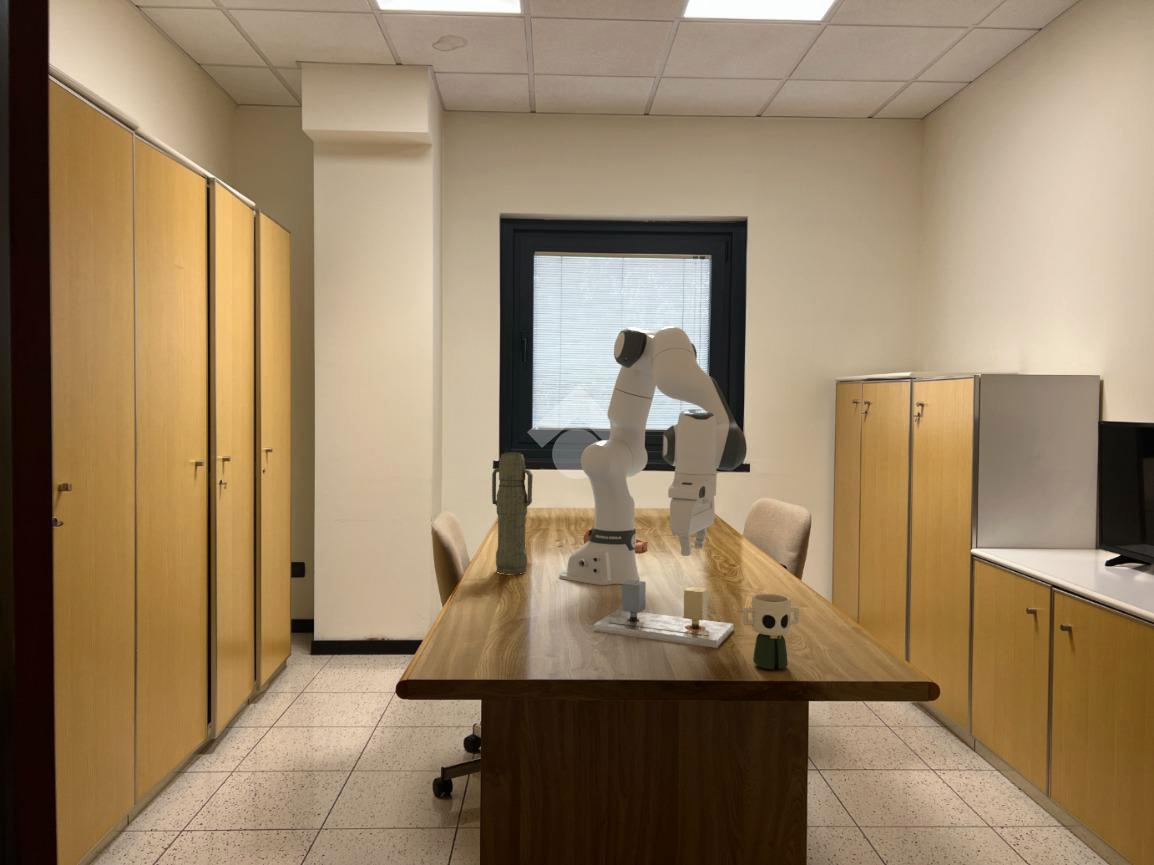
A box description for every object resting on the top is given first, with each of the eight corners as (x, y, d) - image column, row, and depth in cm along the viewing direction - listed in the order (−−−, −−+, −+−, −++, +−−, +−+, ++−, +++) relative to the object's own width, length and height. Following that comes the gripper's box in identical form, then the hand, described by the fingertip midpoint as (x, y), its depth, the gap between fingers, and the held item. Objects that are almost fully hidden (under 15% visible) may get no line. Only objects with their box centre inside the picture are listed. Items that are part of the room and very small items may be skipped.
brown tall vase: (528, 577, 224) (529, 454, 223) (488, 576, 226) (488, 453, 225) (534, 571, 233) (535, 452, 232) (495, 569, 235) (496, 451, 234)
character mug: (748, 674, 144) (749, 603, 144) (735, 661, 151) (737, 593, 151) (805, 672, 146) (807, 601, 145) (790, 659, 153) (791, 592, 152)
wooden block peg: (683, 627, 168) (684, 590, 168) (688, 623, 171) (689, 586, 171) (701, 630, 166) (702, 592, 166) (707, 625, 170) (707, 588, 170)
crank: (583, 551, 268) (583, 528, 267) (593, 547, 275) (593, 525, 275) (638, 556, 259) (639, 532, 259) (647, 553, 266) (647, 529, 266)
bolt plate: (593, 631, 171) (594, 586, 171) (617, 616, 184) (618, 573, 183) (716, 647, 160) (717, 599, 160) (733, 630, 173) (733, 585, 172)
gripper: (695, 481, 179) (693, 542, 179) (665, 490, 160) (663, 558, 161) (722, 483, 176) (720, 545, 176) (695, 492, 157) (693, 561, 158)
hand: (692, 551), depth 168 cm, fingers open, 8 cm apart
